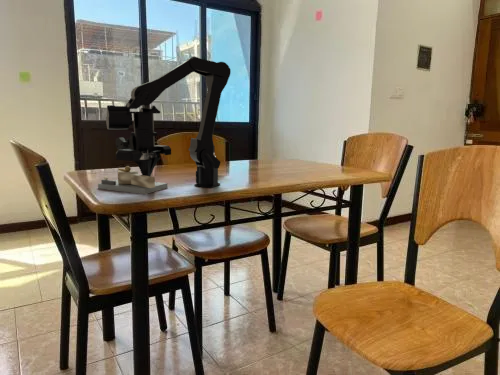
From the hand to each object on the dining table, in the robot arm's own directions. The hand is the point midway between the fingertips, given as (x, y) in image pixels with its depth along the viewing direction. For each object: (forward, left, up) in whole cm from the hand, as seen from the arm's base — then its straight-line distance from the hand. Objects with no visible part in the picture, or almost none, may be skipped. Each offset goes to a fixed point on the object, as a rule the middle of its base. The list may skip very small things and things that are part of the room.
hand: (146, 180), depth 116 cm
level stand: (+6, 0, -3) cm, 6 cm away
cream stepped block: (+3, +2, -1) cm, 3 cm away
